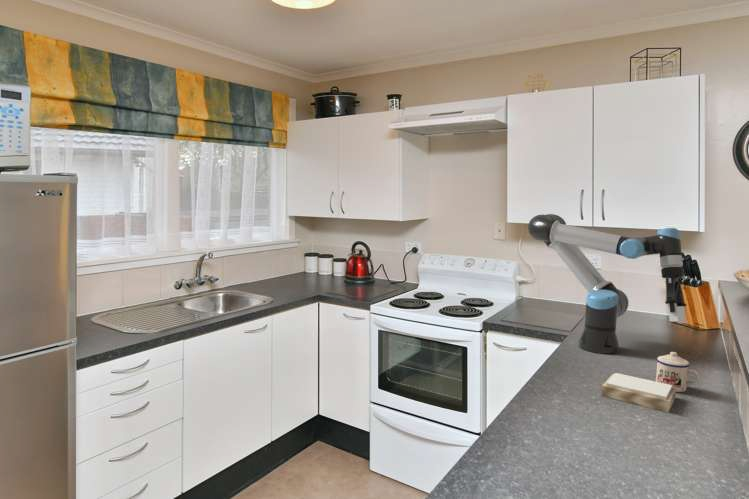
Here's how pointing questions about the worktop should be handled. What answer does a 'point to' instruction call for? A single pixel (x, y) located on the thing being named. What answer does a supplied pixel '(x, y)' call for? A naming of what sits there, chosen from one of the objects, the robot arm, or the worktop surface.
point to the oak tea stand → (639, 391)
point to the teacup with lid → (674, 371)
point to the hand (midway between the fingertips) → (678, 322)
